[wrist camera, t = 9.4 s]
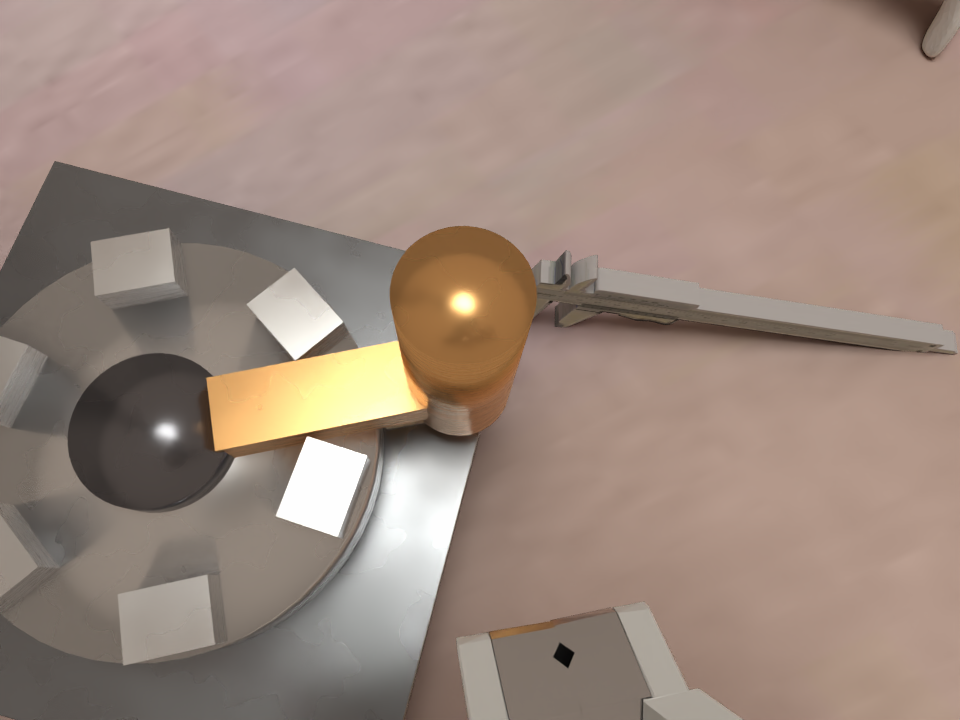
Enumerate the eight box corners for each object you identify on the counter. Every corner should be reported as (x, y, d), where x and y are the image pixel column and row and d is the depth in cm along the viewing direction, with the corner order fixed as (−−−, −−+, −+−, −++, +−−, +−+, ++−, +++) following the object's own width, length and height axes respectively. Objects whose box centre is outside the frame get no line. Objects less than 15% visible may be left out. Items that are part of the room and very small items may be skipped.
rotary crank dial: (3, 698, 25) (-312, 778, 15) (-10, 312, 29) (-267, 161, 18) (547, 573, 27) (609, 567, 16) (466, 226, 30) (475, 45, 20)
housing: (-108, 650, 29) (-196, 660, 25) (98, 207, 35) (53, 159, 31) (385, 790, 28) (374, 823, 24) (511, 314, 34) (519, 279, 30)
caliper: (515, 327, 34) (528, 272, 28) (516, 305, 34) (529, 247, 28) (951, 356, 35) (1057, 308, 29) (948, 334, 35) (1052, 282, 29)
